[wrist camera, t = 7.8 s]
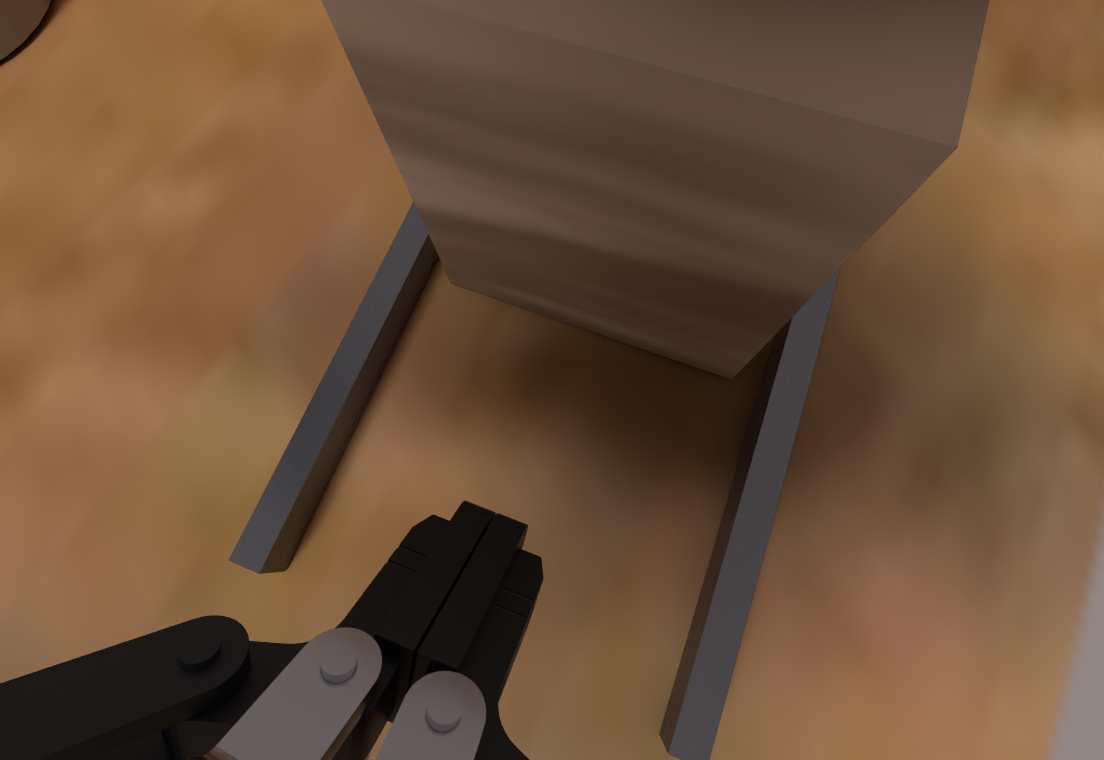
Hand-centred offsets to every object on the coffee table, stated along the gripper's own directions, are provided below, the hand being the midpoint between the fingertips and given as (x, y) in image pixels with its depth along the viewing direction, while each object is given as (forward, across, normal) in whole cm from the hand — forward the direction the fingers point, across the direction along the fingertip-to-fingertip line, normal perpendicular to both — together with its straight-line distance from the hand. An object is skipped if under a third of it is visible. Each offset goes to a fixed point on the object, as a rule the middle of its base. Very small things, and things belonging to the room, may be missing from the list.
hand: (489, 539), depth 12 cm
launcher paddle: (+10, 0, -3) cm, 10 cm away
